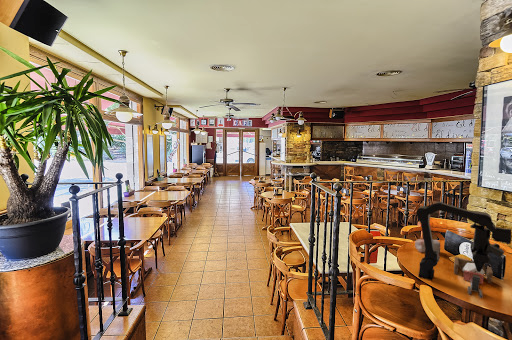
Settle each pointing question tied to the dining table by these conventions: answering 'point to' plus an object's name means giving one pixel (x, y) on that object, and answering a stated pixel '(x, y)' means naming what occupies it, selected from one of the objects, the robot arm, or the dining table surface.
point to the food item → (421, 246)
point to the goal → (462, 262)
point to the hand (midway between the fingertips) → (477, 268)
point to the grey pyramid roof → (472, 268)
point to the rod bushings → (478, 292)
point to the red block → (473, 279)
